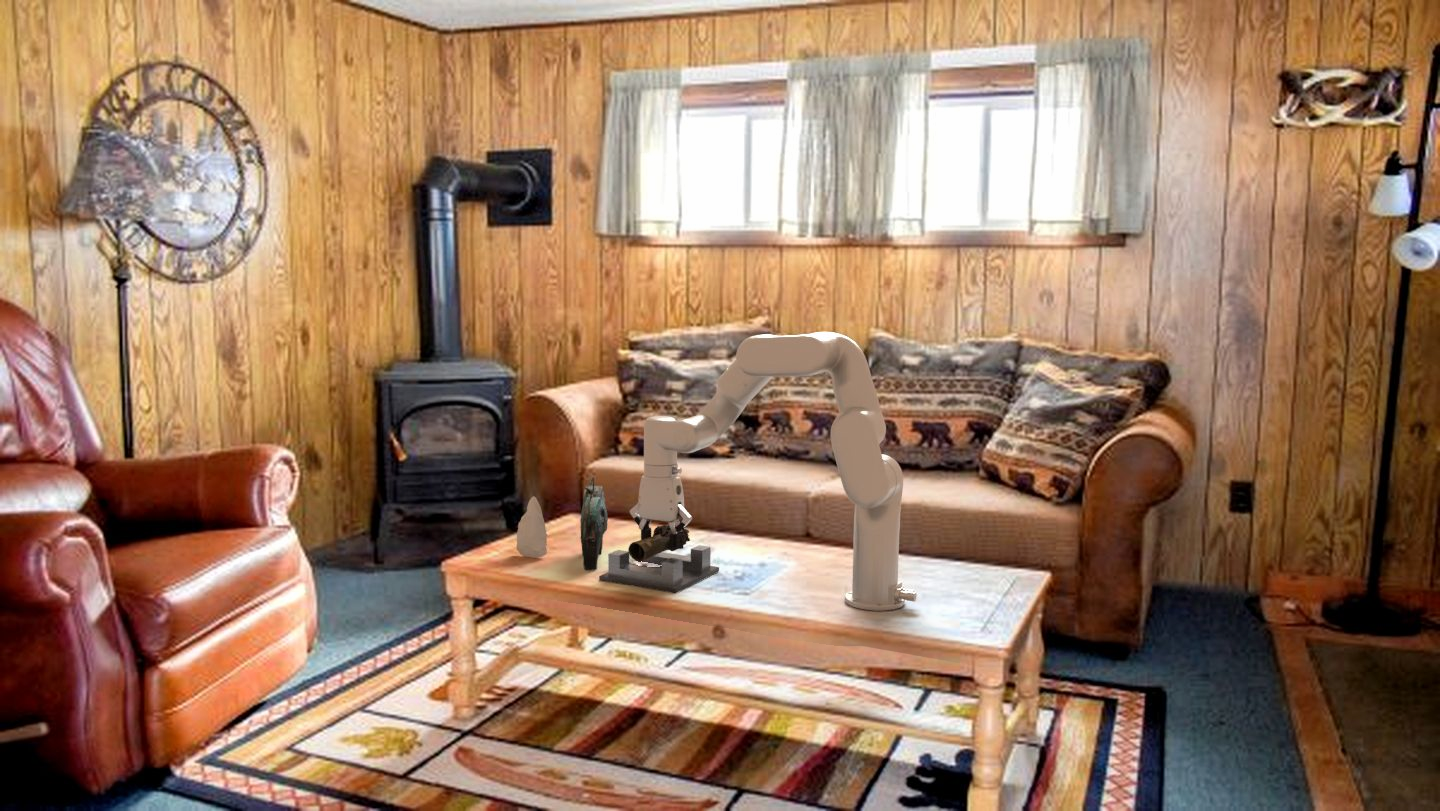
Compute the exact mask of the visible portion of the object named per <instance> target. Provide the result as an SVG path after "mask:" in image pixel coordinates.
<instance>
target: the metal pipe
mask: <svg viewBox="0 0 1440 811" xmlns="http://www.w3.org/2000/svg"><path fill="white" fill-rule="evenodd" d="M689 533H690V530H689V528H688V529H687V528H684V529H683V530H682V532H680V546H679V549H678V550H683V549H684V548H685V547H684V546H685V545H687V542H690V541H691V539H690V537H689ZM670 534H672V531H671V529H670V526H669V524H662V525H657V526H656V527H655V528H654V529H653V534H652V535H651V537H649V538H646V539H643V540H641V539H639V540H636V541H633V542H631V543H630V544H629V545H628V549H627V551H629V557H631V558H632V559H633V561H638V562H641V561H643V560H645V559H647V558H650V557H652V556H654V555H656V554H659V553H661V552H665V551H670Z"/></svg>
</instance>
